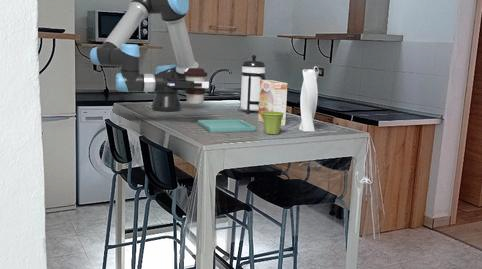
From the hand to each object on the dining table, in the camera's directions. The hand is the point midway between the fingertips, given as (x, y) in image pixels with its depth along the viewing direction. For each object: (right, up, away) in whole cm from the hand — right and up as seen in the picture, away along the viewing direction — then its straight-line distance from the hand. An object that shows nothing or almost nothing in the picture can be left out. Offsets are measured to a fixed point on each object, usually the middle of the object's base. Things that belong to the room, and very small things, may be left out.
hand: (205, 83), depth 217 cm
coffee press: (+22, -10, +48) cm, 54 cm away
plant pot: (+28, -22, -10) cm, 37 cm away
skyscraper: (+44, -21, -1) cm, 49 cm away
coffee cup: (-5, -9, 0) cm, 10 cm away
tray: (+9, -19, -1) cm, 21 cm away
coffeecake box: (+29, -17, +15) cm, 37 cm away
